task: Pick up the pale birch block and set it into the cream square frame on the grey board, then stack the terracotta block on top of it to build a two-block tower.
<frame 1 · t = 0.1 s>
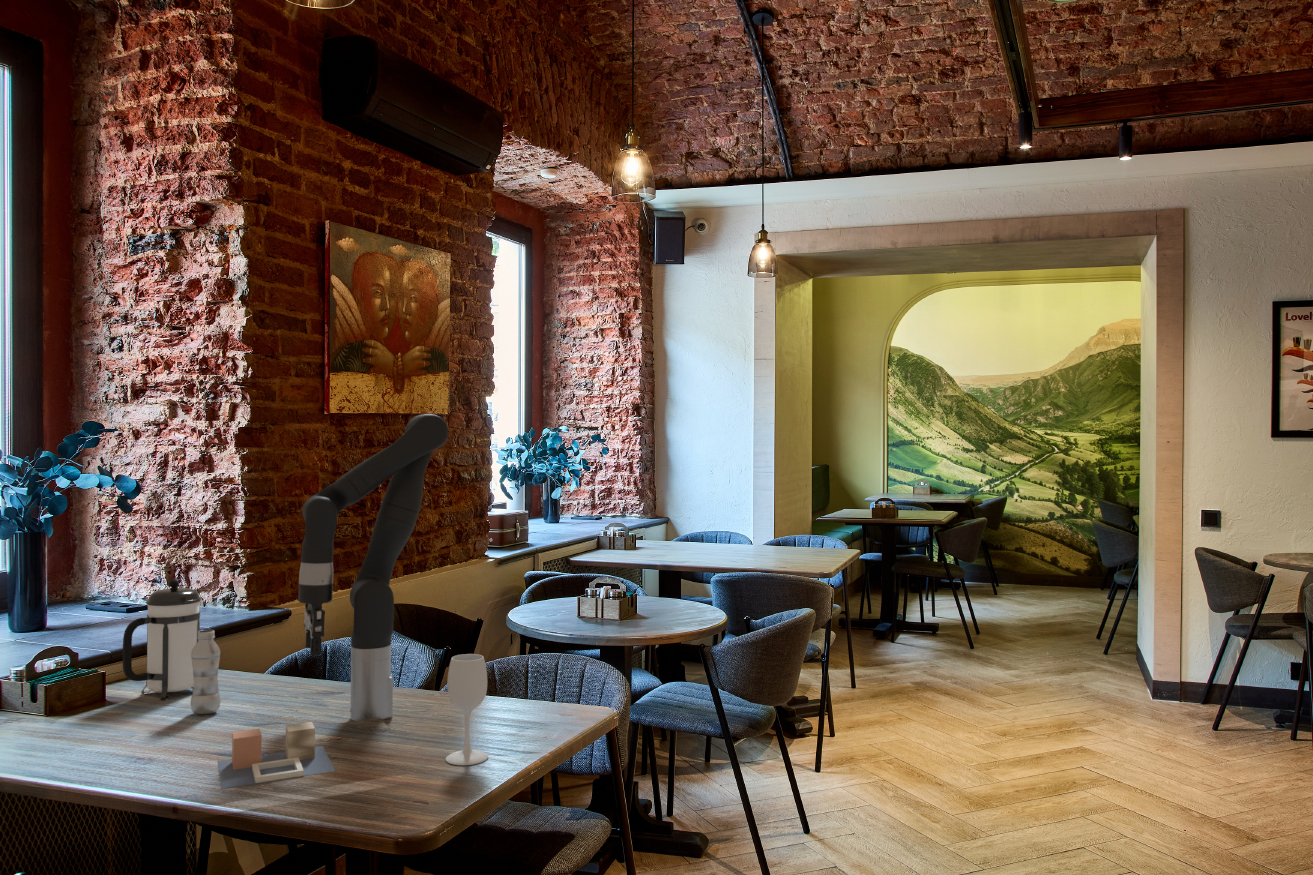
hand: (312, 651, 211), 17 cm above the table, tool pointing down, fingers open, 8 cm apart
grey board: (275, 773, 179), on the table
plastic bottle: (205, 714, 220), on the table
birch block: (300, 756, 184), point 1 cm above the table, touching grey board
coffee press: (168, 695, 238), on the table
terracotta block: (246, 763, 180), point 1 cm above the table, touching grey board
wineglass: (466, 759, 188), on the table
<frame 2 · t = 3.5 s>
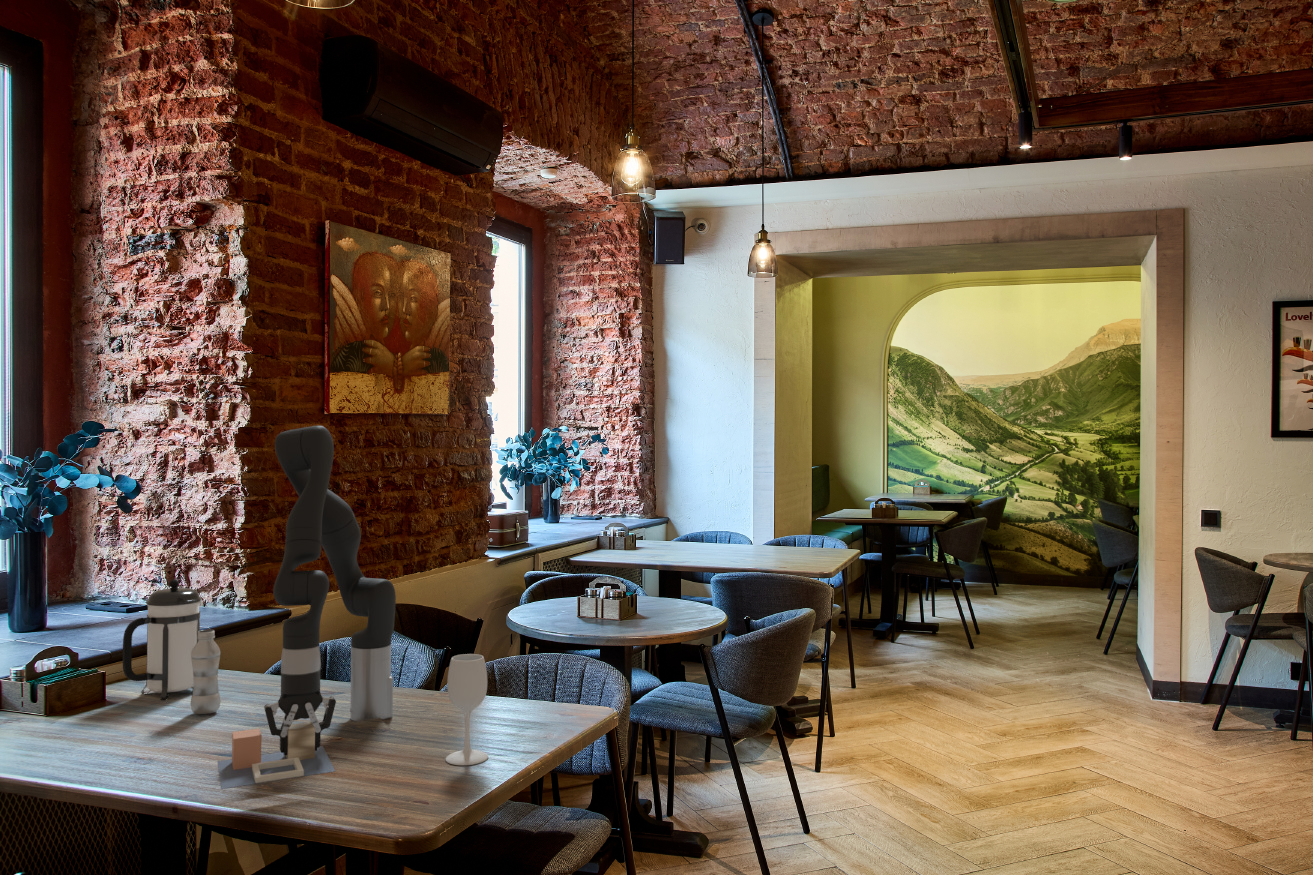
hand: (299, 751, 184), 2 cm above the table, tool pointing down, fingers closed on birch block, 5 cm apart
birch block: (300, 756, 184), point 1 cm above the table, touching grey board, gripper
everything else where it was.
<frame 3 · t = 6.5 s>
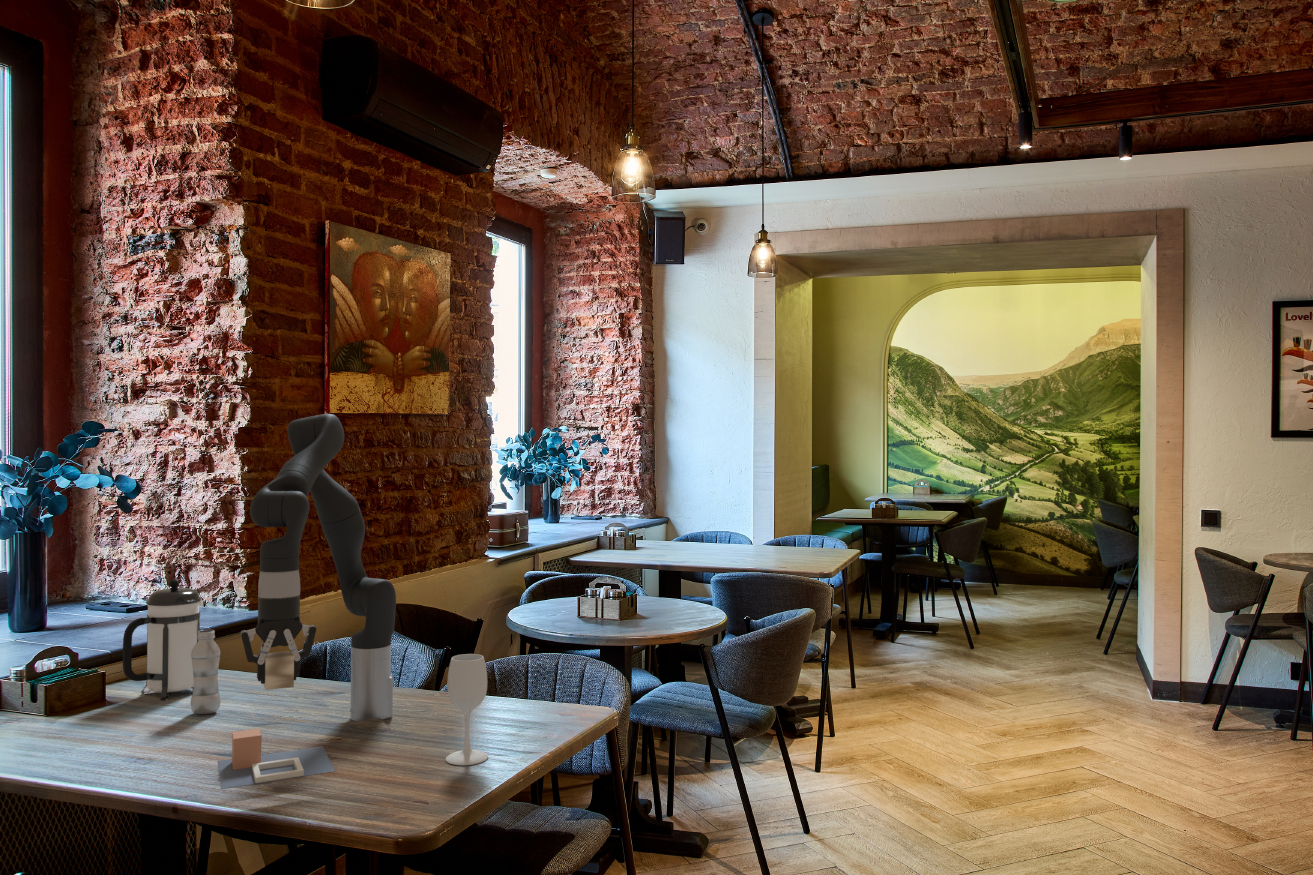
hand: (278, 680, 175), 19 cm above the table, tool pointing down, fingers closed on birch block, 5 cm apart
birch block: (278, 685, 175), point 18 cm above the table, touching gripper
everything else where it was.
when the fingers open (4 cm above the table, at t = 9.6 s): birch block drops 2 cm, resting on grey board.
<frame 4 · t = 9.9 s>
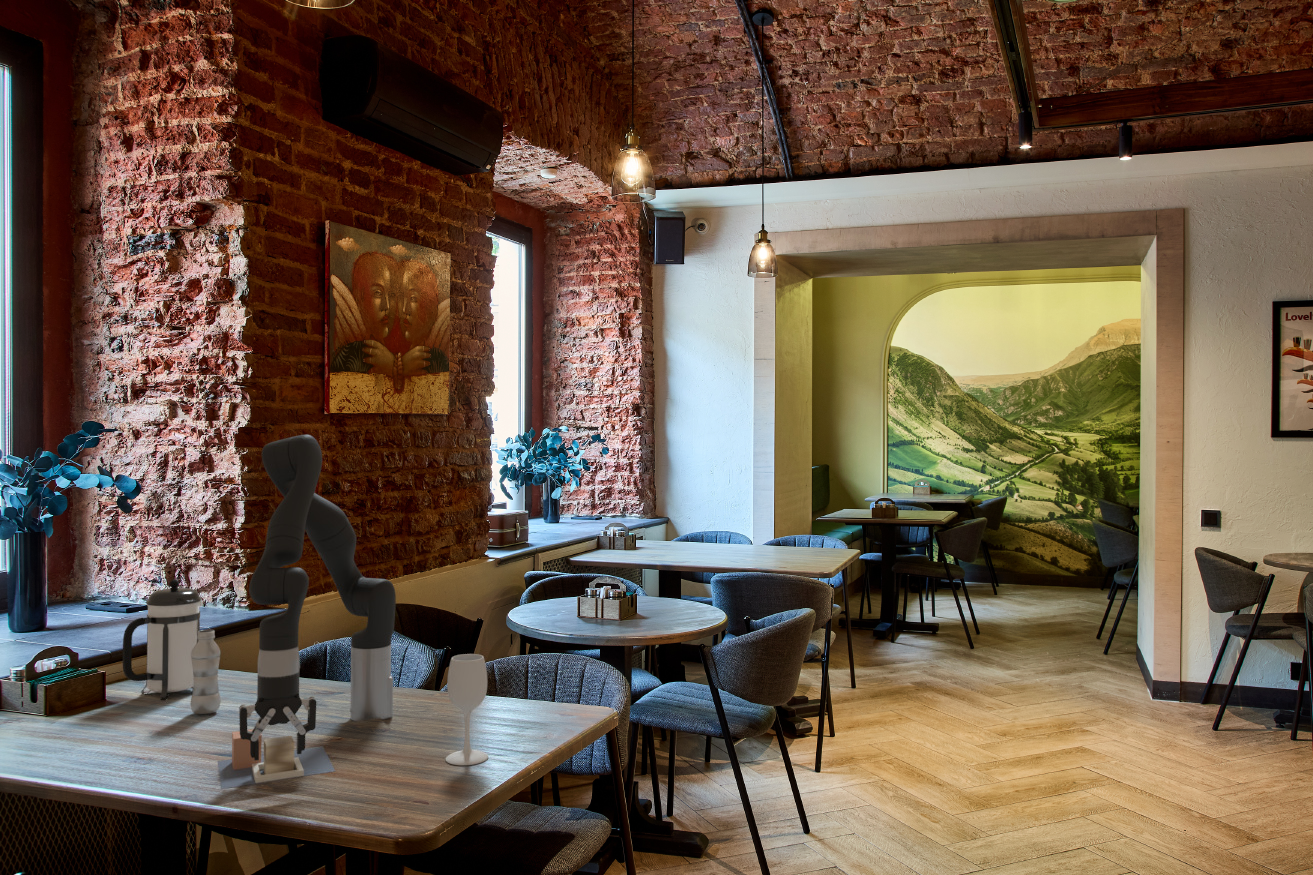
hand: (277, 755, 175), 5 cm above the table, tool pointing down, fingers open, 7 cm apart
birch block: (278, 772, 175), point 1 cm above the table, touching grey board
everything else where it was.
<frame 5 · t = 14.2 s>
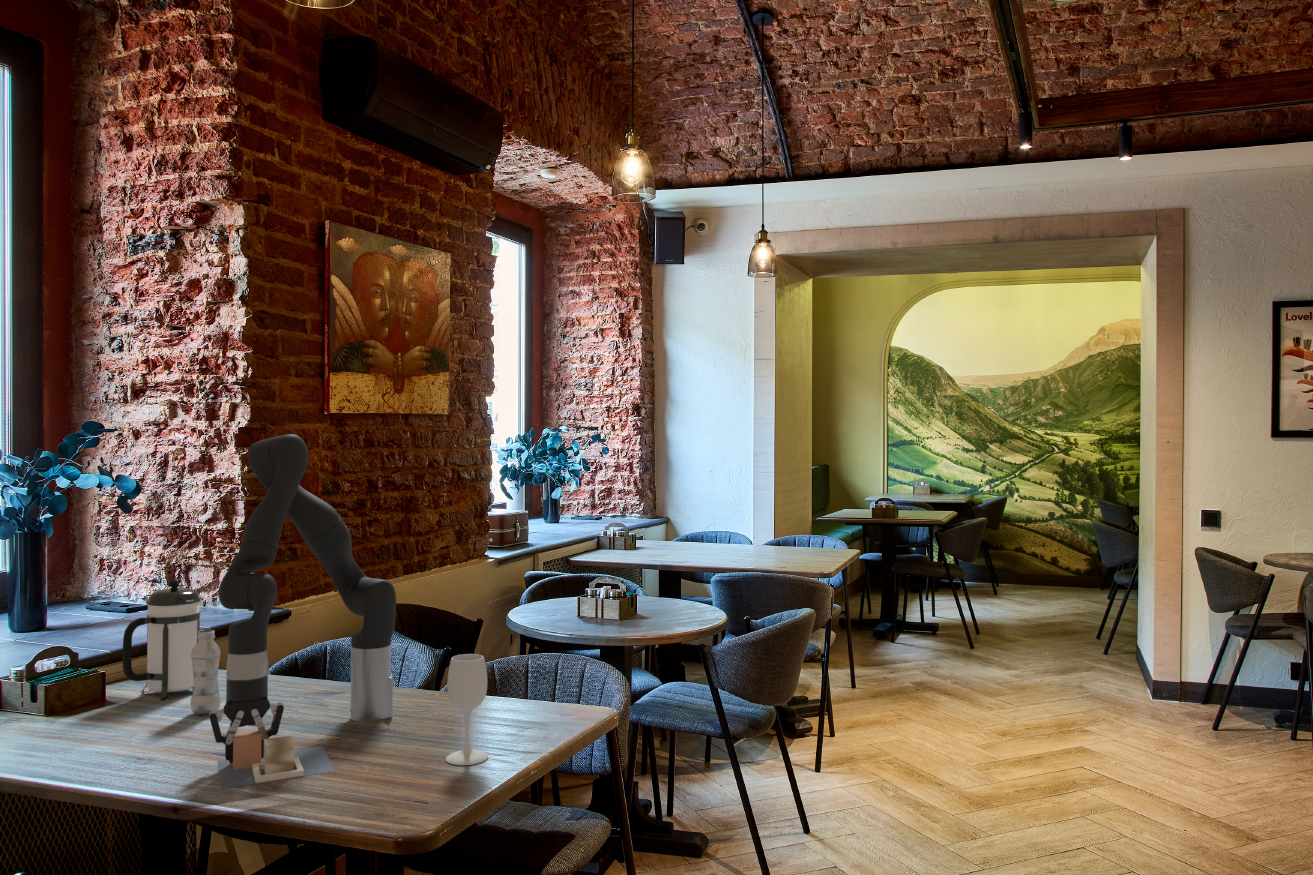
hand: (246, 759, 180), 2 cm above the table, tool pointing down, fingers closed on terracotta block, 5 cm apart
terracotta block: (246, 763, 180), point 1 cm above the table, touching grey board, gripper
everything else where it was.
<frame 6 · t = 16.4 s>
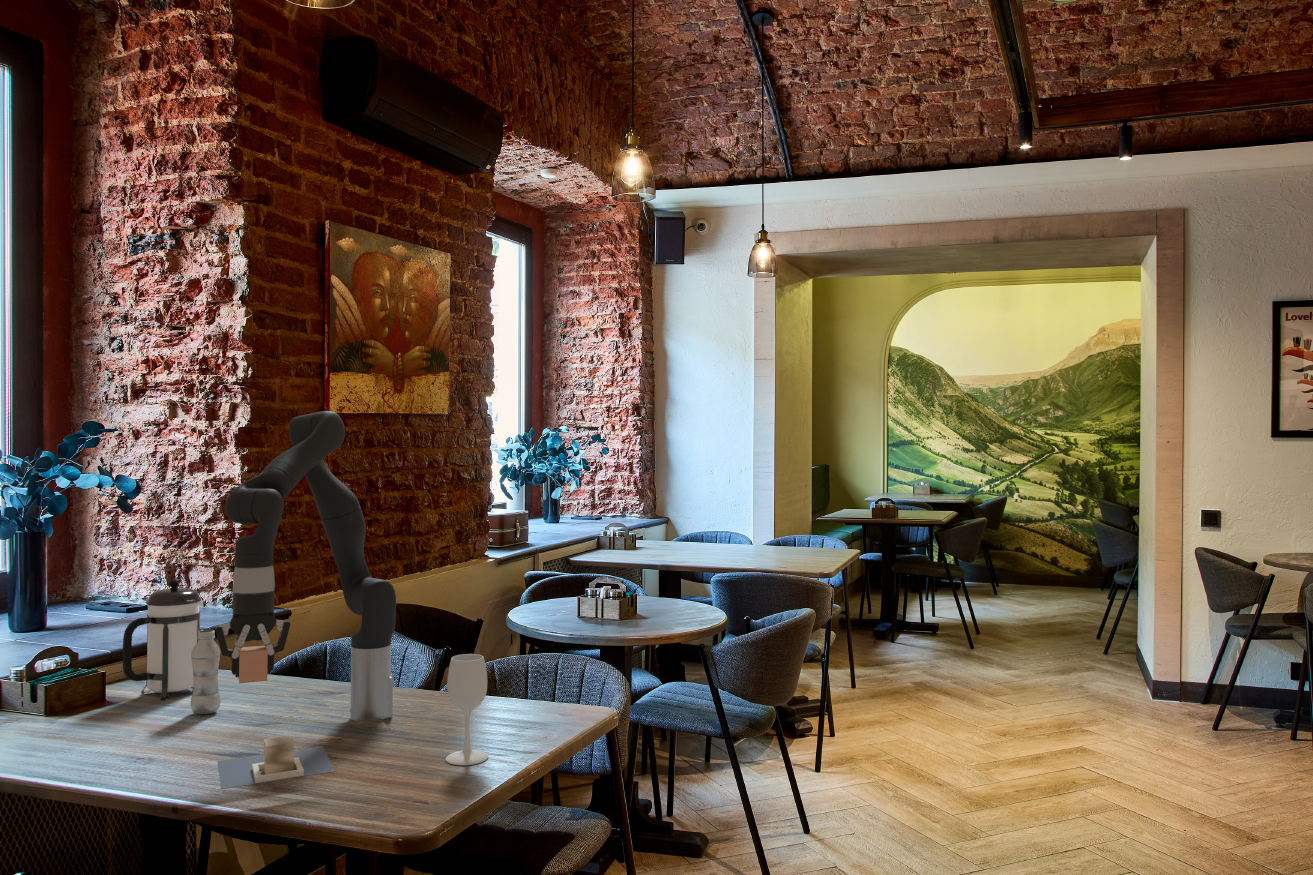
hand: (252, 674, 179), 19 cm above the table, tool pointing down, fingers closed on terracotta block, 5 cm apart
terracotta block: (252, 679, 179), point 19 cm above the table, touching gripper
everything else where it was.
when the fingers open (10 cm above the table, at t = 19.1 s): terracotta block drops 1 cm, resting on birch block.
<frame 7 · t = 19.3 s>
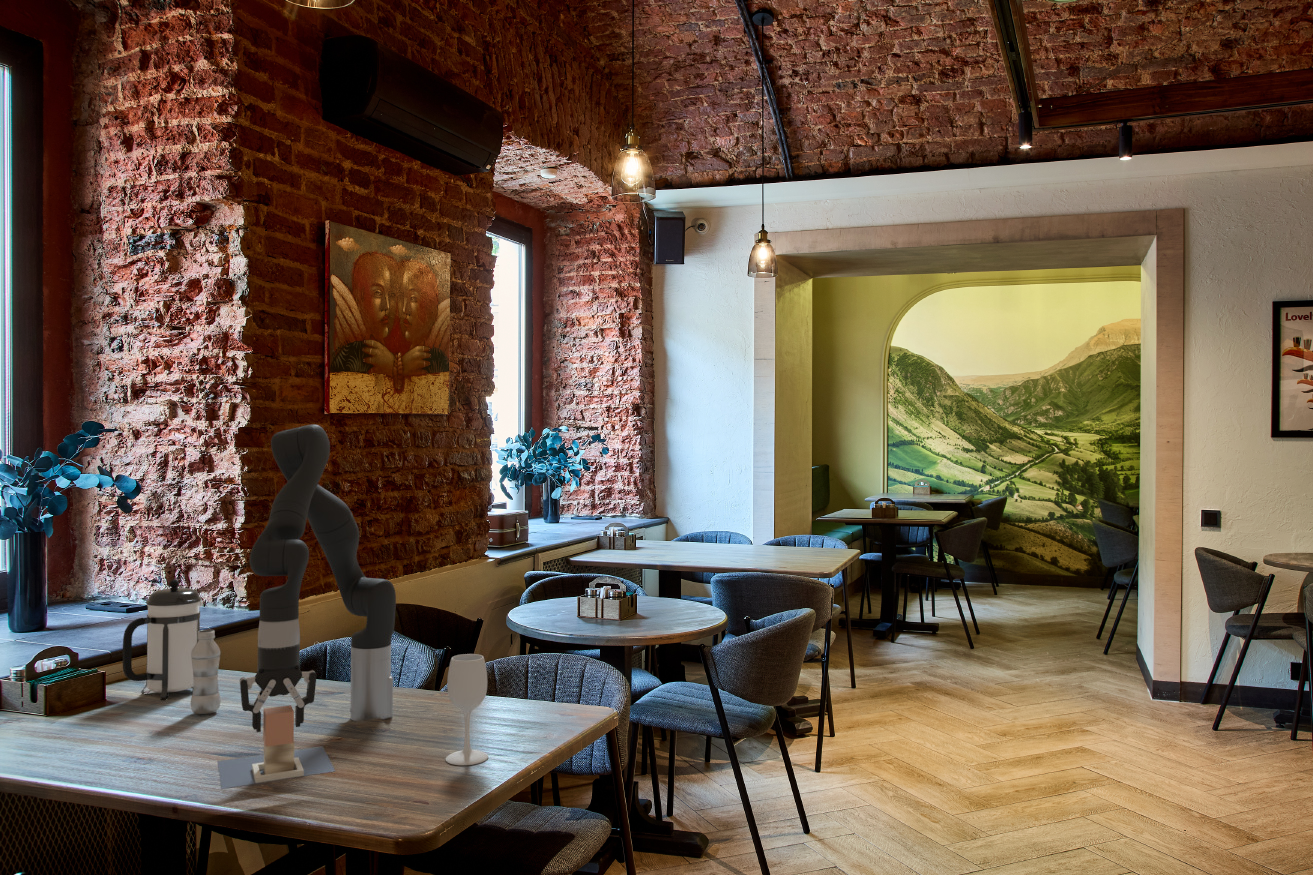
hand: (278, 728, 175), 10 cm above the table, tool pointing down, fingers open, 6 cm apart
birch block: (278, 772, 175), point 1 cm above the table, touching grey board, terracotta block
terracotta block: (278, 741, 175), point 7 cm above the table, touching birch block
everything else where it was.
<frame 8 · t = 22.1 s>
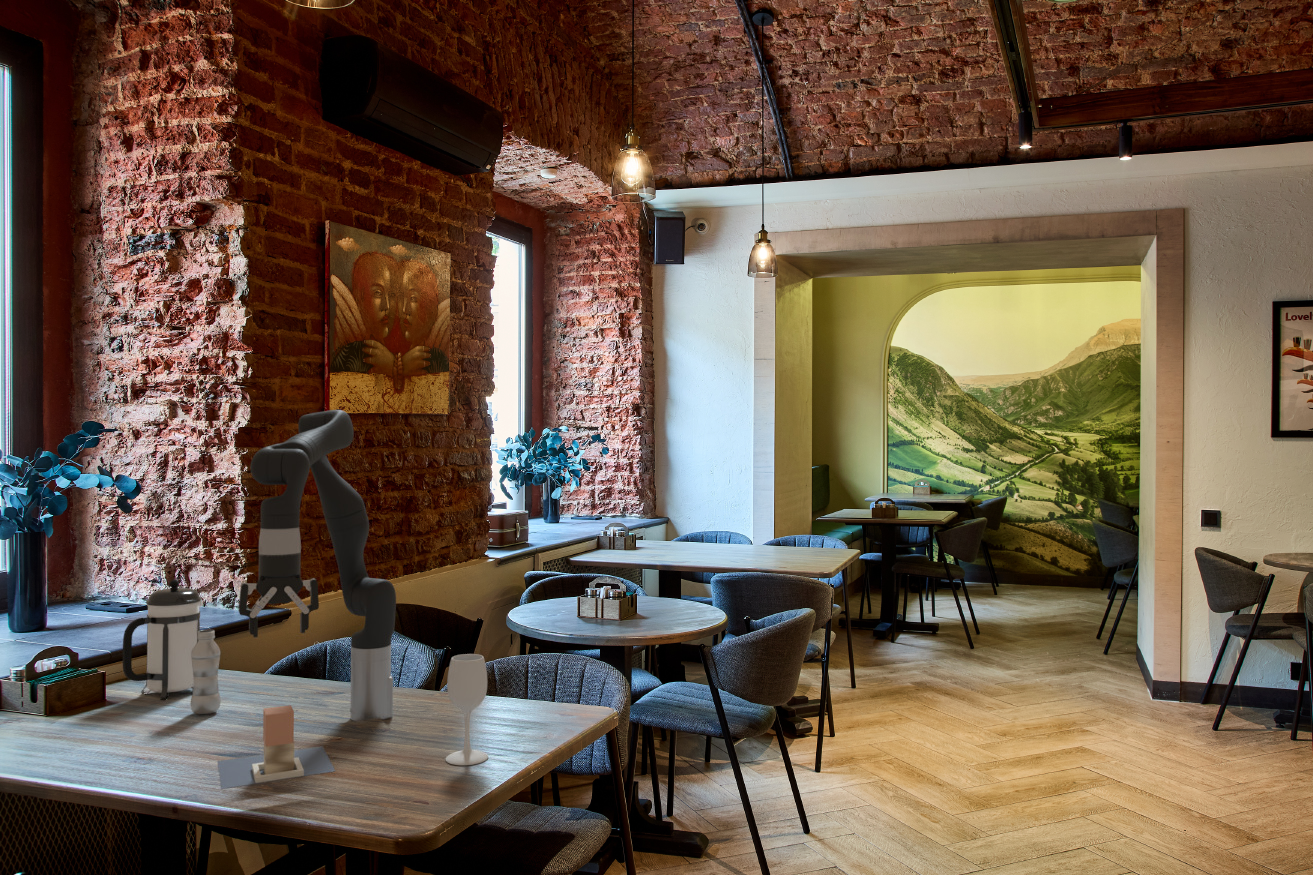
hand: (279, 634, 176), 28 cm above the table, tool pointing down, fingers open, 8 cm apart
nothing on the table moved.
at the end: birch block 0.2 cm from the target spot, point 1.5 cm above the table; terracotta block 0.1 cm off-centre on the birch block, point 6.0 cm above the birch block's base; terracotta block tilted 0° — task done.
